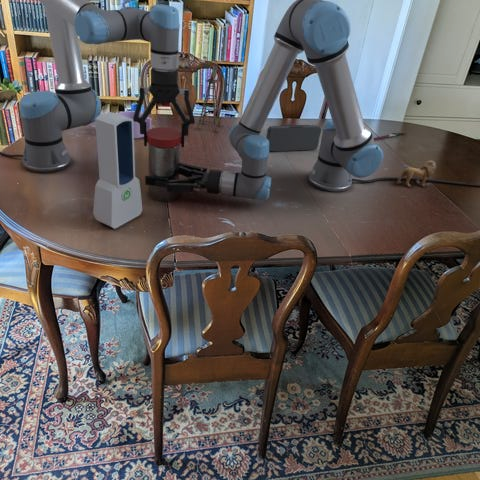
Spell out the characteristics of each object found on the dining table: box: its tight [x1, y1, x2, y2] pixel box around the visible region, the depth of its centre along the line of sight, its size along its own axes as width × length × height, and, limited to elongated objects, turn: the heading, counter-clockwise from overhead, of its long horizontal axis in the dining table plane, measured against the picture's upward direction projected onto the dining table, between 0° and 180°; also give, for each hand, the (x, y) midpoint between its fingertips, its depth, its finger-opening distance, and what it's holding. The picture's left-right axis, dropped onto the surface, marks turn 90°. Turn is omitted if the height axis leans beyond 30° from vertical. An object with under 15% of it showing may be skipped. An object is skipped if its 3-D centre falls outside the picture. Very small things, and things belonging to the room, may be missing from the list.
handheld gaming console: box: [265, 124, 322, 152], centre depth 189 cm, size 23×3×10 cm, turn 108°
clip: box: [100, 110, 153, 139], centre depth 188 cm, size 20×12×7 cm, turn 109°
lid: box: [147, 126, 182, 148], centre depth 139 cm, size 10×10×2 cm
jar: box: [147, 143, 181, 202], centre depth 144 cm, size 9×9×20 cm
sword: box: [373, 132, 408, 141], centre depth 213 cm, size 31×3×1 cm, turn 126°
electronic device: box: [92, 111, 143, 230], centre depth 126 cm, size 12×8×30 cm, turn 148°
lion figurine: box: [396, 159, 436, 188], centre depth 171 cm, size 15×5×9 cm, turn 110°
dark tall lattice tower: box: [196, 56, 221, 133], centre depth 196 cm, size 9×8×30 cm
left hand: (164, 144), depth 140 cm, fingers closed on lid, 10 cm apart
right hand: (149, 173), depth 146 cm, fingers closed on jar, 9 cm apart
